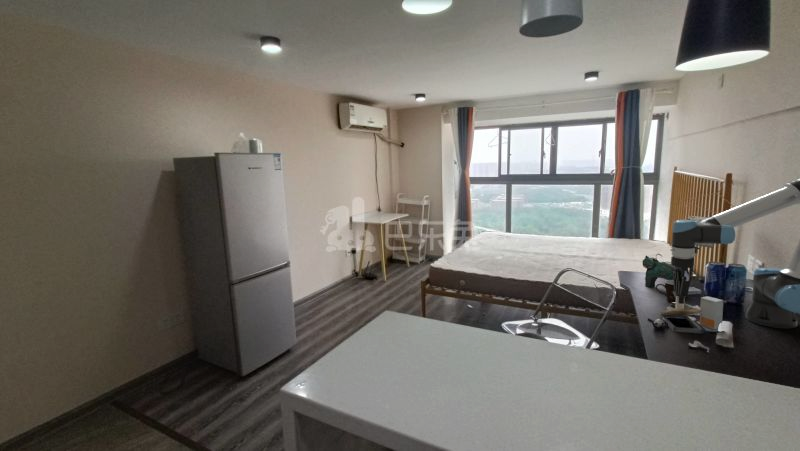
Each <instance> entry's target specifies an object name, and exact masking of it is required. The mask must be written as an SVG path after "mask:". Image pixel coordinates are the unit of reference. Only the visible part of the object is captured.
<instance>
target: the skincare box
mask: <svg viewBox="0 0 800 451" xmlns="http://www.w3.org/2000/svg"><path fill="white" fill-rule="evenodd" d="M699 306H700V309H699V310H702V312H700V313H699V322H700V323H699V324H701V325H704V326H707V327H710V328H712V329H718V326H719V324H720V323H721V322H722V323H723V312H724V300H723V299H719V298H716V297H712V296H710V295H709V296H708V295H707V296H703V297H702V296H701V297H700V305H699ZM699 324H698V325H699Z"/></svg>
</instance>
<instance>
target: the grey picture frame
mask: <svg viewBox="0 0 800 451" xmlns="http://www.w3.org/2000/svg"><path fill="white" fill-rule="evenodd" d="M661 317H662V318H664V319H665V320H666V322H667V323H668V325H667V326H668V327H669V328H670V329H671V331H673V333H674V332H675V333H676V332H677V333H692V334H704V331H705V330H704V329H703V328H702V327H701V326H700V325H699V324H697V323H696V321H694V320H693V319H692V318H690V317H689V315H688V316H686V315H667V314H660V318H661ZM666 317H683V318H686V319H687V320H688V321H689V323H688V324H690V326H692V327H677V326H676V325H674V324H673V323H672V321H670V319H667V318H666Z"/></svg>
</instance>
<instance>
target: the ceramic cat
mask: <svg viewBox="0 0 800 451" xmlns="http://www.w3.org/2000/svg"><path fill="white" fill-rule="evenodd" d="M658 255H659V256H660V257H663V256H662V254H660V253H657V254H656V255H655V257H649V256H648V255H645V257H644V259H643V260H642V266H643V268H645V269H646V272H645V276H644V277H645V278H644V280H645V281H644V282H645V284H644V286H645V287H646V288H656V282H657V280H658V279H663V280H665V281H667V280H673V271H672V270H673V269H675V266H673V265H671V261H660V260H658V258H657V256H658Z"/></svg>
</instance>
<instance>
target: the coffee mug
mask: <svg viewBox="0 0 800 451" xmlns="http://www.w3.org/2000/svg"><path fill="white" fill-rule="evenodd" d="M664 282H665V284H663V283H658V284H655V289H656V290H657V291H658V292H659V293H660V294H662V295H664V296H665V297H666V301H667V303H668V304H669V303H670V304H672V303H671V302H676V293H675V292H676V291H674V281H673V280H665V281H664ZM658 286H663V287H664V289H665V293H664V292H663V291H661V290H659V289H658Z"/></svg>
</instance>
